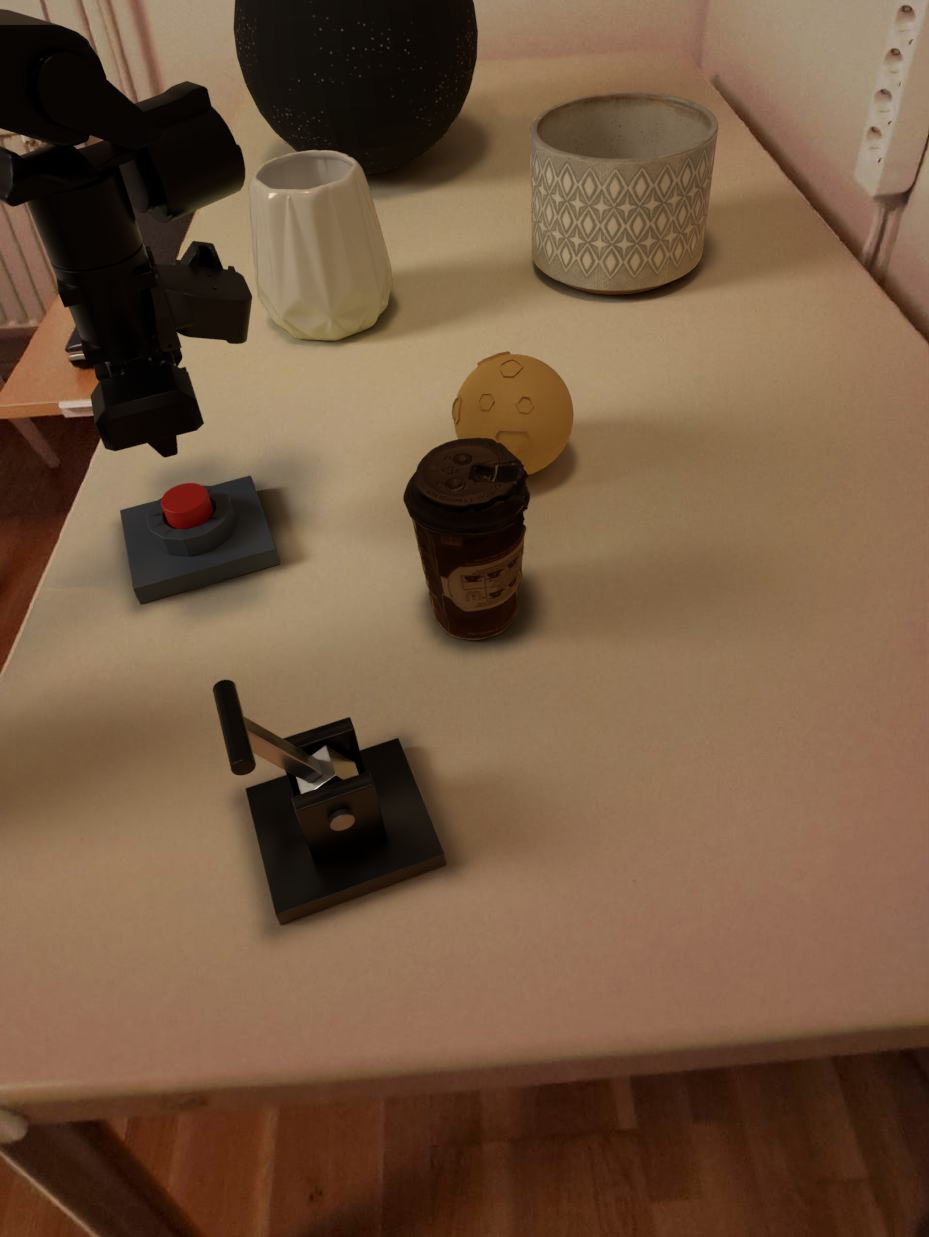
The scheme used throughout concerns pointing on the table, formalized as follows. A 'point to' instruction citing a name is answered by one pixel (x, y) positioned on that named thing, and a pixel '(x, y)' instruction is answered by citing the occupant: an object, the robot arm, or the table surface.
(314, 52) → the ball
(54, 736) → the table surface
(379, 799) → the lever bracket
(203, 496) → the button
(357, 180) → the vase
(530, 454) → the stress ball
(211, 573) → the button block
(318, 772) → the switch lever
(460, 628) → the coffee cup
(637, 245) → the planter
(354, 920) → the table surface
